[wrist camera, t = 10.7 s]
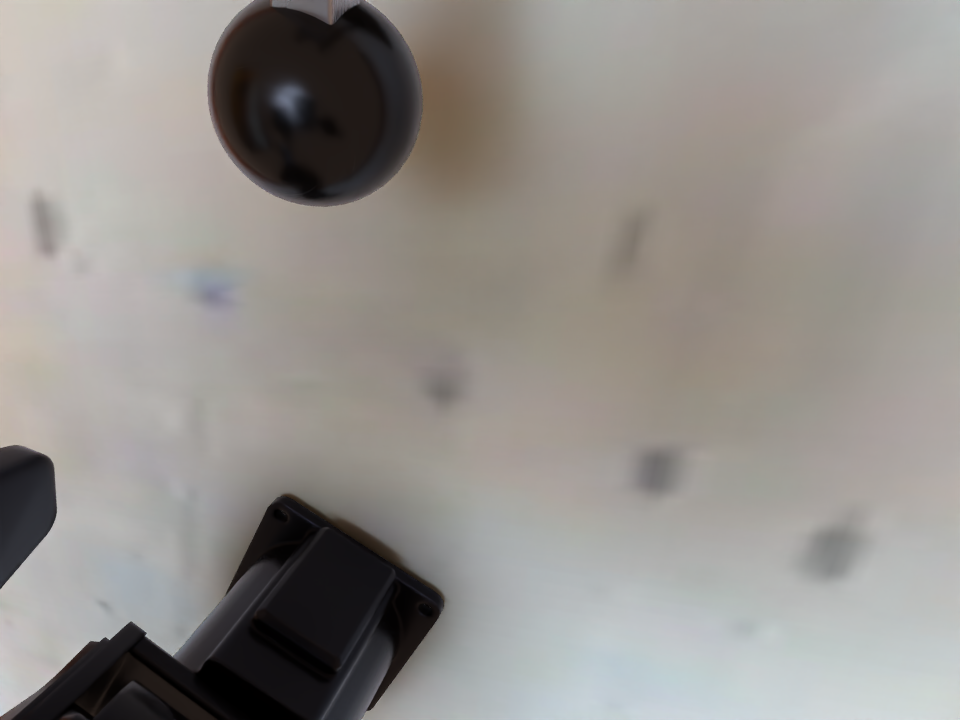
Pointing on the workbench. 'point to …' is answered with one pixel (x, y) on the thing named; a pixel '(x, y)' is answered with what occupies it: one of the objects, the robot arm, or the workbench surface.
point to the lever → (315, 98)
